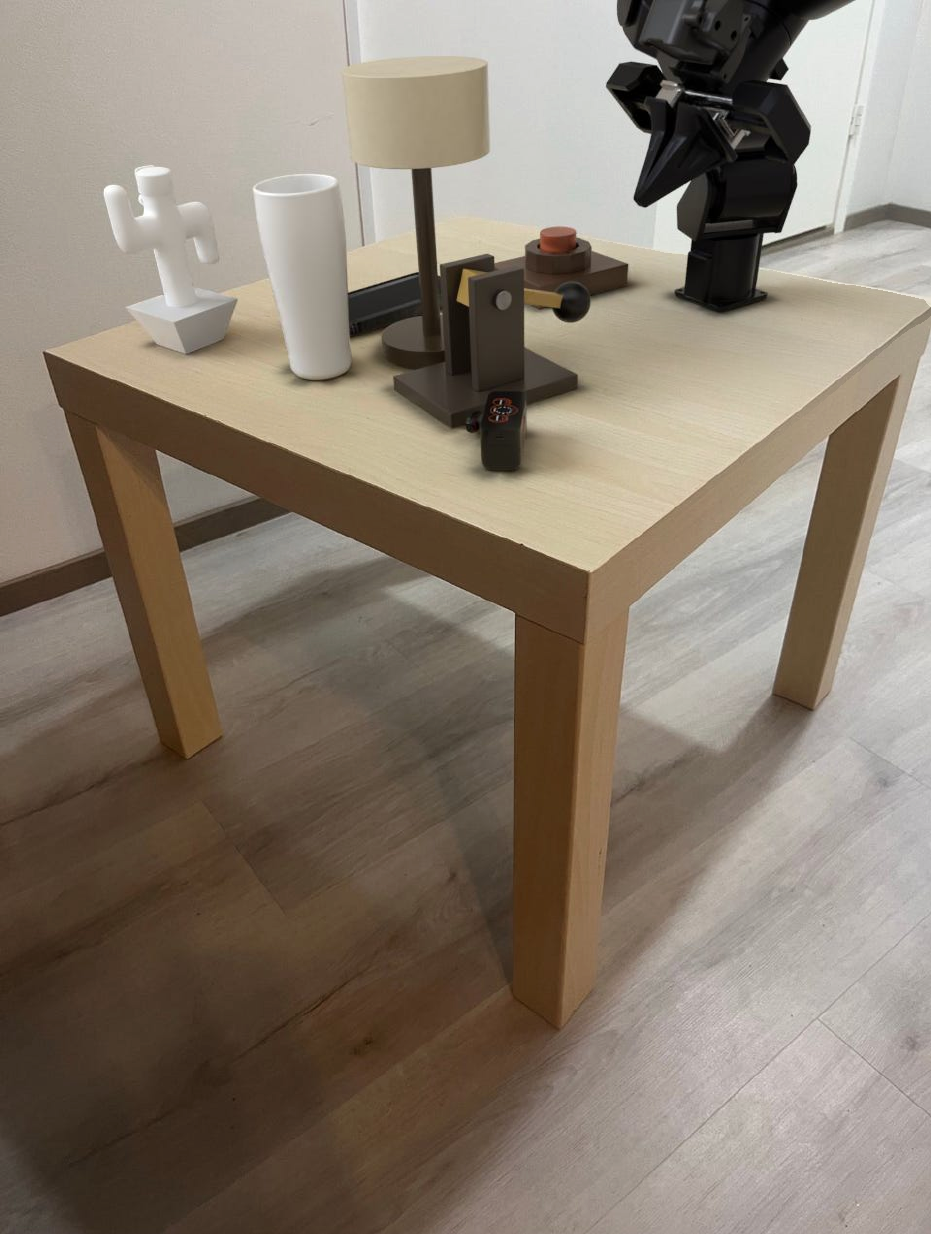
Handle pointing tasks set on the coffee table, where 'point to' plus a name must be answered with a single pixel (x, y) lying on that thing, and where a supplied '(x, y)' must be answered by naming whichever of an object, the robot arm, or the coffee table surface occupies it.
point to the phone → (385, 303)
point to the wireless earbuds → (501, 429)
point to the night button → (558, 239)
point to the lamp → (418, 160)
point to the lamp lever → (544, 298)
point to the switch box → (568, 268)
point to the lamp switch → (482, 347)
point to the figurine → (171, 261)
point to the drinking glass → (307, 269)
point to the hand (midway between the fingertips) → (638, 203)
